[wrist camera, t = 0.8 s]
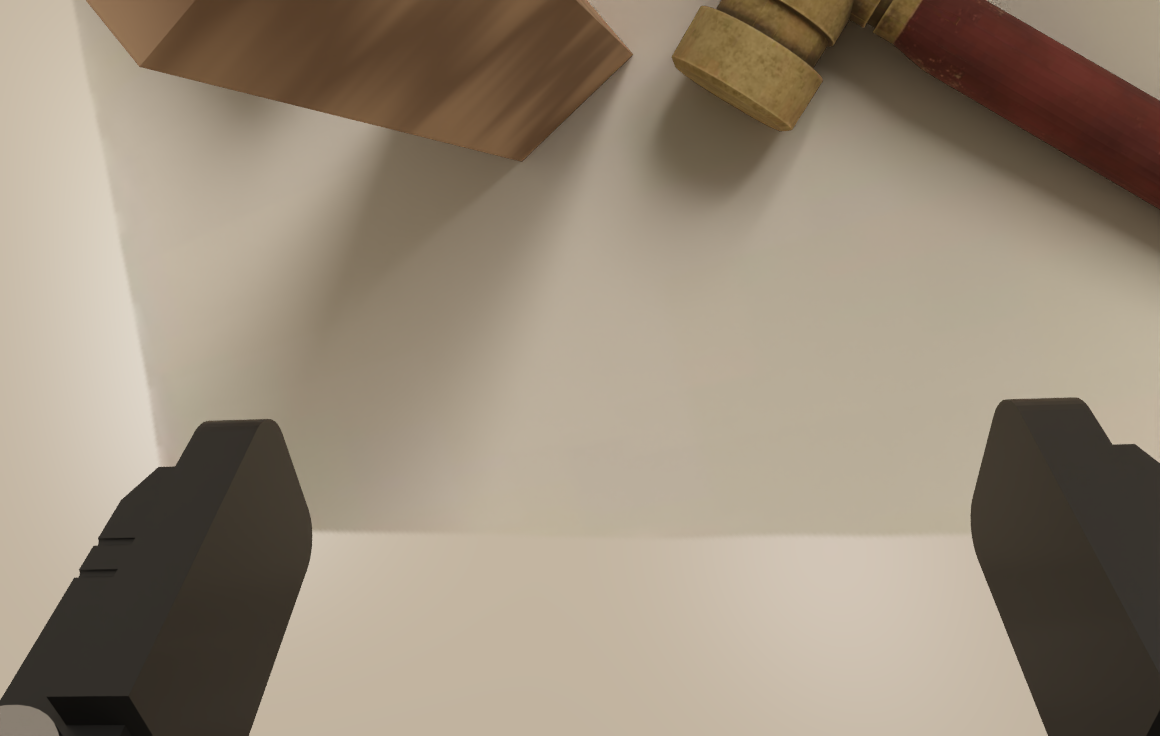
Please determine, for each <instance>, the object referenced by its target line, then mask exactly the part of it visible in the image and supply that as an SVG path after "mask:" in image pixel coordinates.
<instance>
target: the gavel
mask: <svg viewBox="0 0 1160 736" xmlns="http://www.w3.org/2000/svg"><path fill="white" fill-rule="evenodd" d="M849 20H851V21H852V22H854V23H856V24H858V25H859V26H861V27H863V28H864V27H865V25H866V24H867V23H868V24H870V25H871V26H873V27H875V29H874V31H873V33H875V34H876V35H878V36H880V37H882V38H883V39H885V40H887V41H888V42H890V43H892V44H893V45H894V46H896V47H897V48H898V49H899V50H900V51H901V52H903V53H904V54H905V55H906V56H907V57H908V58H909V59H911V60H912V61H913V62H914V63H915V64H916V65H918V66H919V67H920V68H921V69H922V70H924V71H925V72H927V73H929V74H930V75H932V76H934V77H935V78H937V79H939V80H941V81H942V82H944V83H946V84H947V85H949V86H951V87H952V88H954V89H956V90H958V91H959V92H961V93H963V94H964V95H966V96H968V97H969V98H971V99H973V100H975V101H976V102H978V103H980V104H981V105H983V106H985V107H986V108H988V109H990V110H992V111H993V112H995V113H997V114H998V115H1000V116H1002V117H1003V118H1005V119H1007V120H1009V121H1010V122H1012V123H1014V124H1015V125H1017V126H1019V127H1021V128H1022V129H1024V130H1026V131H1027V132H1029V133H1031V134H1032V135H1034V136H1036V137H1038V138H1039V139H1041V140H1043V141H1044V142H1046V143H1048V144H1049V145H1051V146H1053V147H1055V148H1056V149H1058V150H1060V151H1061V152H1063V153H1065V154H1066V155H1068V156H1070V157H1072V158H1073V159H1075V160H1077V161H1078V162H1080V163H1082V164H1083V165H1085V166H1087V167H1089V168H1090V169H1092V170H1094V171H1095V172H1097V173H1099V174H1101V175H1102V176H1104V177H1106V178H1107V179H1109V180H1111V181H1112V182H1114V183H1116V184H1118V185H1119V186H1121V187H1123V188H1124V189H1126V190H1128V191H1129V192H1131V193H1133V194H1135V195H1136V196H1138V197H1140V198H1141V199H1143V200H1145V201H1146V202H1148V203H1150V204H1152V205H1153V206H1155V207H1157V208H1158V209H1160V101H1159V100H1157V99H1156V98H1154V97H1152V96H1150V95H1149V94H1147V93H1145V92H1144V91H1142V90H1140V89H1138V88H1137V87H1135V86H1133V85H1131V84H1130V83H1128V82H1126V81H1124V80H1123V79H1121V78H1119V77H1118V76H1116V75H1114V74H1112V73H1111V72H1109V71H1107V70H1105V69H1104V68H1102V67H1100V66H1099V65H1097V64H1095V63H1093V62H1092V61H1090V60H1088V59H1086V58H1085V57H1083V56H1081V55H1079V54H1078V53H1076V52H1074V51H1073V50H1071V49H1069V48H1067V47H1066V46H1064V45H1062V44H1060V43H1059V42H1057V41H1055V40H1054V39H1052V38H1050V37H1048V36H1047V35H1045V34H1043V33H1041V32H1040V31H1038V30H1036V29H1034V28H1033V27H1031V26H1029V25H1028V24H1026V23H1024V22H1022V21H1021V20H1019V19H1017V18H1015V17H1014V16H1012V15H1010V14H1009V13H1007V12H1005V11H1003V10H1002V9H1000V8H998V7H996V6H995V5H993V4H991V3H989V2H988V1H986V0H721V2H720V4H719V6H718V7H717V9H714V8H711V7H707V6H701V7H700V9H699V11H698V12H697V14H696V16H695V17H694V19H693V21H692V23H691V24H690V26H689V28H688V30H687V31H686V33H685V35H684V36H683V38H682V40H681V42H680V43H679V45H678V47H677V48H676V50H675V52H674V54H673V55H672V59H673V62H674V64H675V67H676V68H677V69H678V70H679V71H680V72H682V73H683V74H684V75H686V76H687V77H688V78H690V79H691V80H693V81H694V82H696V83H697V84H698V85H700V86H701V87H703V88H705V89H706V90H708V91H709V92H711V93H712V94H714V95H715V96H717V97H719V98H721V99H722V100H724V101H726V102H727V103H729V104H731V105H732V106H734V107H736V108H737V109H739V110H741V111H742V112H744V113H746V114H747V115H749V116H751V117H752V118H754V119H756V120H758V121H760V122H762V123H763V124H765V125H767V126H769V127H771V128H774V129H776V130H778V131H789V130H792V129H793V127H794V126H795V124H796V123H797V121H798V120H799V118H800V116H801V115H802V113H803V112H804V110H805V108H806V107H807V105H808V104H809V102H810V100H811V99H812V97H813V96H814V94H815V92H816V91H817V89H818V88H819V86H820V85H821V83H822V81H823V80H822V78H821V76H820V75H819V74H818V73H817V72H816V71H815V70H814V69H813V68H814V66H815V65H816V63H817V62H818V60H819V58H820V57H821V55H822V54H823V52H824V50H825V49H826V47H827V46H828V47H829V46H833V45H834V44H835V42H836V41H837V39H838V37H839V36H840V34H841V33H842V31H843V29H844V28H845V26H846V25H847V23H848V21H849Z"/></svg>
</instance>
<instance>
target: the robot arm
mask: <svg viewBox="0 0 1160 736" xmlns="http://www.w3.org/2000/svg"><path fill="white" fill-rule="evenodd" d="M971 532H972V539H973V544H974V548H975V552H976V555H977V558H978V560H979V563H980V566H981V568H982V571H983V573H984V576H985V578H986V581H987V583H988V586H989V588H990V591H991V593H992V596H993V598H994V601H995V603H996V606H997V608H998V611H999V613H1000V616H1001V618H1002V621H1003V623H1004V626H1005V629H1006V631H1007V634H1008V636H1009V638H1010V641H1011V644H1012V646H1013V649H1014V651H1015V654H1016V656H1017V659H1018V661H1019V664H1020V666H1021V669H1022V671H1023V674H1024V676H1025V679H1026V681H1027V684H1028V686H1029V689H1030V691H1031V693H1032V696H1033V699H1034V701H1035V704H1036V706H1037V709H1038V711H1039V714H1040V717H1041V719H1042V722H1043V724H1044V726H1045V729H1046V731H1047V734H1048V736H1160V463H1159V462H1157V461H1156V460H1155V459H1153V458H1152V457H1151V456H1150V455H1148V454H1147V453H1146V452H1144V451H1143V450H1142V449H1140V448H1139V447H1138V446H1137V445H1135V444H1122V445H1112V443H1111V442H1110V440H1109V439H1108V437H1107V435H1106V434H1105V432H1104V431H1103V429H1102V427H1101V426H1100V424H1099V423H1098V421H1097V420H1096V418H1095V416H1094V415H1093V413H1092V412H1091V410H1090V408H1089V407H1088V406H1087V404H1086V403H1085V402H1084V401H1082V400H1081V399H1079V398H1042V399H1008V400H1003V401H1002V402H1000V404H999V405H998V406H997V408H996V411H995V413H994V417H993V420H992V424H991V428H990V432H989V436H988V440H987V444H986V448H985V452H984V456H983V459H982V463H981V467H980V471H979V475H978V479H977V483H976V487H975V491H974V495H973V499H972V505H971ZM98 539H99V544H98V546H93V548H92V549H91V551H90V553H89V554H88V556H87V558H86V559H85V561H84V563H83V565H82V566H81V568H80V569H79V570H80V576H79V578H74V579H73V581H72V582H71V584H70V586H69V587H68V589H67V591H66V593H65V594H64V596H63V597H62V599H61V601H60V602H59V604H58V606H57V607H56V609H55V611H54V612H53V614H52V616H51V617H50V619H49V621H48V622H47V624H46V626H45V627H44V629H43V630H42V632H41V634H40V636H39V637H38V639H37V641H36V642H35V644H34V645H33V647H32V649H31V650H30V652H29V654H28V655H27V657H26V659H25V660H24V662H23V664H22V665H21V667H20V669H19V670H18V672H17V674H16V675H15V677H14V679H13V680H12V682H11V684H10V685H9V687H8V689H7V690H6V692H5V693H4V695H3V697H2V698H1V700H0V736H249V733H250V730H251V728H252V725H253V722H254V719H255V716H256V713H257V710H258V707H259V705H260V702H261V699H262V696H263V693H264V691H265V687H266V685H267V682H268V679H269V676H270V673H271V670H272V668H273V665H274V662H275V659H276V656H277V653H278V651H279V648H280V645H281V642H282V639H283V636H284V634H285V631H286V628H287V625H288V622H289V619H290V616H291V613H292V610H293V608H294V605H295V602H296V599H297V597H298V594H299V591H300V588H301V585H302V582H303V579H304V576H305V574H306V571H307V568H308V565H309V561H310V555H311V549H312V525H311V518H310V514H309V510H308V507H307V504H306V501H305V498H304V495H303V492H302V490H301V487H300V484H299V481H298V478H297V475H296V472H295V469H294V466H293V463H292V460H291V458H290V455H289V452H288V449H287V446H286V443H285V440H284V437H283V434H282V432H281V430H280V428H279V426H278V425H277V423H276V422H275V421H273V420H271V419H256V420H222V421H206V422H204V423H202V424H201V425H200V426H199V427H198V428H197V429H196V431H195V432H194V434H193V436H192V438H191V440H190V441H189V443H188V445H187V447H186V448H185V450H184V452H183V454H182V456H181V457H180V459H179V461H178V463H177V464H176V466H175V467H158V468H157V469H156V470H155V471H154V472H152V474H150V475H149V476H148V477H147V478H146V479H145V480H143V481H142V482H141V483H140V484H139V485H138V486H137V487H136V488H134V489H133V490H132V491H131V492H130V493H129V494H128V495H127V496H126V497H124V498H123V499H122V500H121V501H120V503H119V505H118V506H117V508H116V510H115V511H114V513H113V515H112V517H111V518H110V520H109V521H108V523H107V525H106V526H105V528H104V529H103V531H102V533H101V535H100V536H99V538H98Z"/></svg>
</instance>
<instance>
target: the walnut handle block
mask: <svg viewBox="0 0 1160 736" xmlns="http://www.w3.org/2000/svg"><path fill="white" fill-rule="evenodd" d="M86 1H87V2H88V4H89V5H90V6H91V7H92V8H93V10H94V11H95V12H96V13H97V15H98V16H99V17H100V18H101V20H102V21H103V22H104V23H105V25H106V26H107V27H108V28H109V30H110V31H111V32H112V33H113V34H114V36H115V37H116V38H117V39H118V41H119V42H120V43H121V44H122V46H123V47H124V48H125V49H126V51H127V52H128V53H129V54H130V56H131V57H132V58H133V59H134V60H135V62H136V63H137V64H138V65H139V67H143V68H147V69H151V70H155V71H159V72H163V73H167V74H171V75H175V76H179V77H183V78H187V79H191V80H195V81H199V82H203V83H207V84H211V85H215V86H219V87H223V88H227V89H231V90H235V91H240V92H244V93H248V94H252V95H256V96H260V97H264V98H268V99H272V100H276V101H280V102H284V103H288V104H292V105H296V106H300V107H304V108H308V109H312V110H316V111H320V112H324V113H328V114H332V115H336V116H340V117H344V118H348V119H352V120H356V121H360V122H364V123H368V124H372V125H377V126H381V127H385V128H389V129H393V130H397V131H401V132H405V133H409V134H413V135H417V136H421V137H425V138H429V139H433V140H437V141H441V142H445V143H449V144H453V145H457V146H461V147H465V148H469V149H473V150H477V151H481V152H485V153H489V154H493V155H497V156H501V157H505V158H509V159H514V160H518V161H523V160H524V159H525V158H526V157H527V156H528V155H529V154H530V153H531V152H532V151H533V150H534V149H535V148H536V147H537V146H538V145H539V144H541V143H542V142H543V141H544V140H545V139H546V138H547V137H548V136H549V135H550V134H551V133H552V132H553V131H554V130H555V129H556V128H557V127H558V126H559V125H560V124H561V123H562V122H563V121H564V120H565V119H567V118H568V117H569V116H570V115H571V114H572V113H573V112H574V111H575V110H576V109H577V108H578V107H579V106H580V105H581V104H582V103H583V102H584V101H585V100H586V99H587V98H588V97H589V96H590V95H592V94H593V93H594V92H595V91H596V90H597V89H598V88H599V87H600V86H601V85H602V84H603V83H604V82H605V81H606V80H607V79H608V78H609V77H610V76H611V75H612V74H613V73H614V72H615V71H617V70H618V69H619V68H620V67H621V66H622V65H623V64H624V63H625V62H626V61H627V60H628V59H629V58H630V57H631V56H632V55H633V54H632V53H631V52H630V50H629V49H628V48H627V47H626V46H625V45H624V43H623V42H622V41H621V40H620V39H619V38H618V36H617V35H616V34H615V33H614V32H613V30H612V29H611V28H610V27H609V26H608V25H607V23H606V22H605V21H604V20H603V19H602V18H601V16H600V15H599V14H598V13H597V12H596V10H595V9H594V8H593V7H592V6H591V5H590V3H589V2H588V1H587V0H86Z"/></svg>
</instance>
